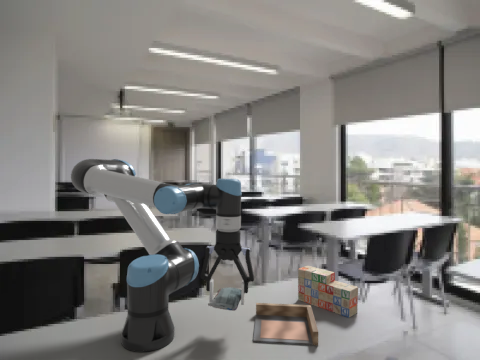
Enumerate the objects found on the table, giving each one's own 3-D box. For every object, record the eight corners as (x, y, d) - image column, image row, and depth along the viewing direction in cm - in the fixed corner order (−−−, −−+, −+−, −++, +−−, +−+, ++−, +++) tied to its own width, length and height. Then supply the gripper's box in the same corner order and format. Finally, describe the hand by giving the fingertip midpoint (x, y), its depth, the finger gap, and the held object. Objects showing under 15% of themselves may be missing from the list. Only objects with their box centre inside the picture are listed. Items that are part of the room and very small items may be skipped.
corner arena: (253, 341, 94) (253, 328, 94) (256, 314, 112) (256, 302, 112) (318, 345, 92) (318, 331, 92) (310, 316, 110) (310, 305, 110)
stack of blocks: (358, 312, 113) (358, 278, 113) (349, 318, 109) (349, 282, 109) (307, 295, 129) (307, 264, 128) (297, 299, 125) (297, 268, 124)
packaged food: (207, 312, 94) (208, 296, 94) (218, 296, 106) (218, 282, 106) (236, 316, 93) (237, 299, 92) (244, 299, 104) (244, 284, 104)
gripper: (190, 230, 96) (189, 305, 97) (263, 233, 94) (262, 309, 95) (196, 225, 103) (195, 295, 104) (264, 228, 101) (262, 299, 102)
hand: (227, 302), depth 99 cm, fingers closed on packaged food, 9 cm apart
